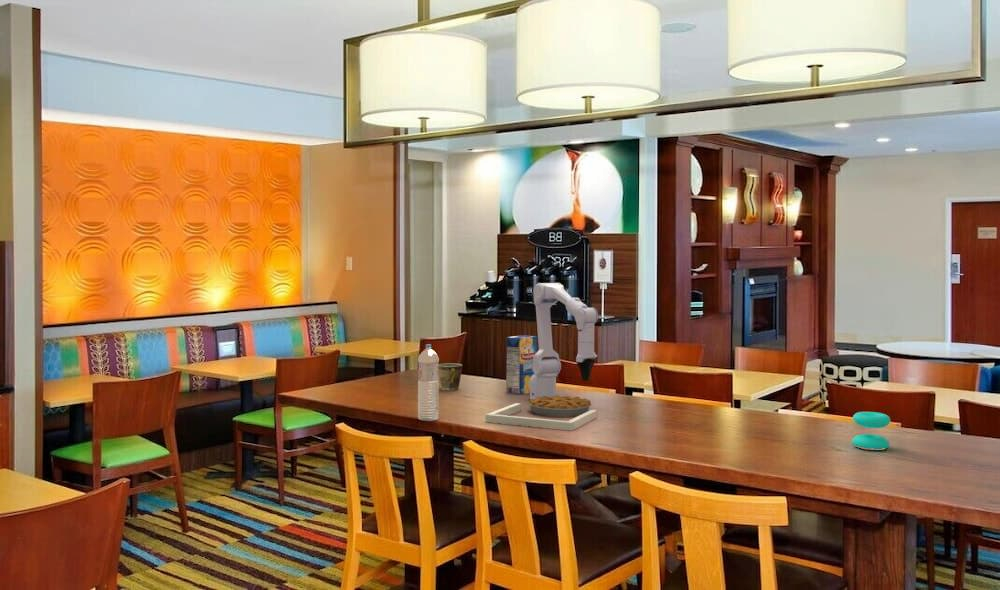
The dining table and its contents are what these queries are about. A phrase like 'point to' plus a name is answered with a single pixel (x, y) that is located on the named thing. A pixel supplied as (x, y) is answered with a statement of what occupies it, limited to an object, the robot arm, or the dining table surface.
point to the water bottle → (428, 385)
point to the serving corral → (537, 419)
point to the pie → (559, 406)
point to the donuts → (871, 422)
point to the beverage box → (520, 363)
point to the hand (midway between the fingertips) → (585, 380)
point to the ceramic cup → (450, 375)
